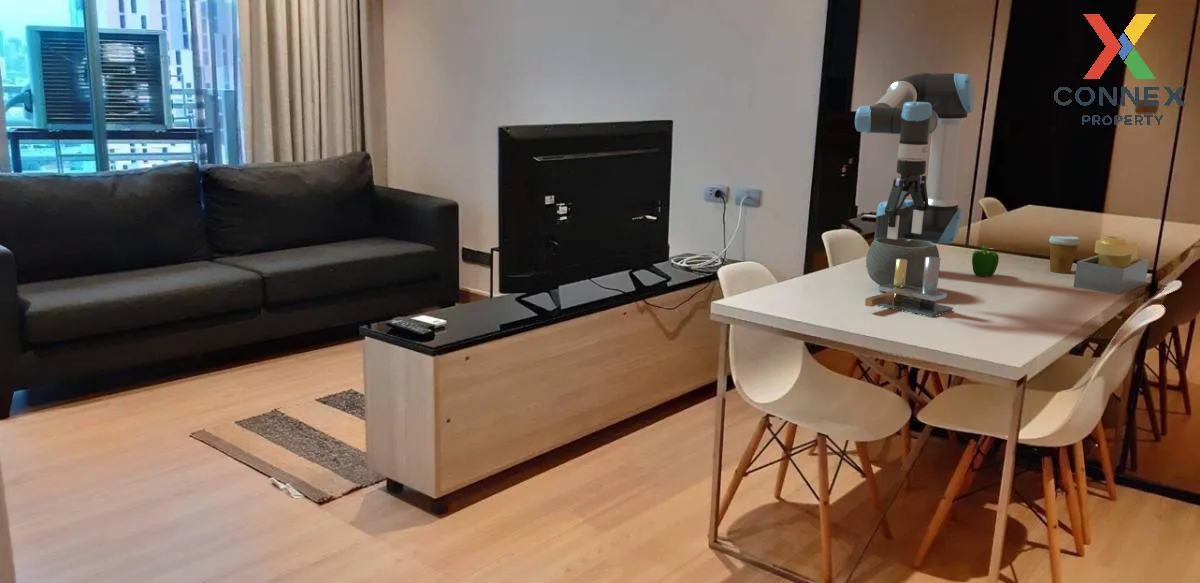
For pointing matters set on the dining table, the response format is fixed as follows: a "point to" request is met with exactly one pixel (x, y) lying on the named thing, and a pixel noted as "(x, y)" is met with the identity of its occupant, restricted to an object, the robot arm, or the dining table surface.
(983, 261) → the bell pepper
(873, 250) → the bowl
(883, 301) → the grey lever block
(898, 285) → the gold rounded cylinder
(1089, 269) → the grey open-top box
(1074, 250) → the disposable coffee cup
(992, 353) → the dining table surface
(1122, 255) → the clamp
